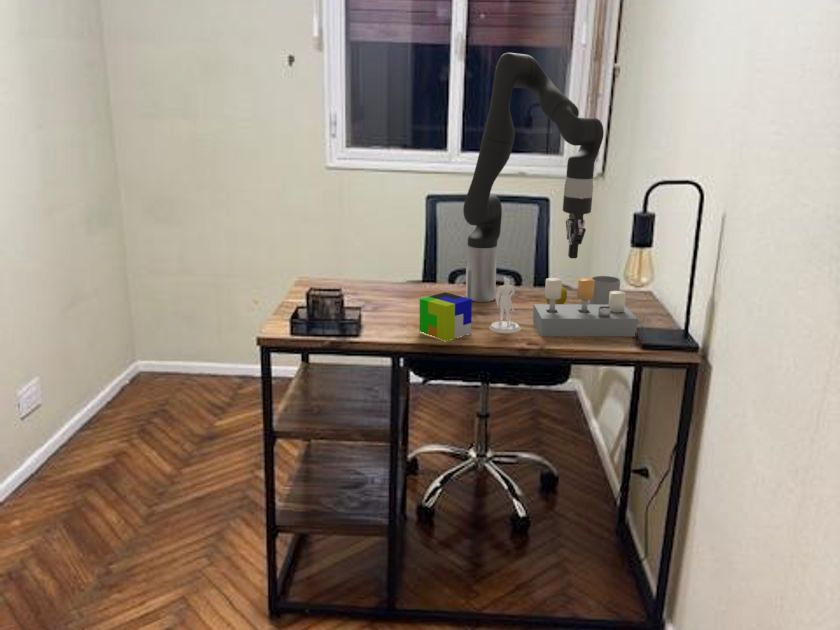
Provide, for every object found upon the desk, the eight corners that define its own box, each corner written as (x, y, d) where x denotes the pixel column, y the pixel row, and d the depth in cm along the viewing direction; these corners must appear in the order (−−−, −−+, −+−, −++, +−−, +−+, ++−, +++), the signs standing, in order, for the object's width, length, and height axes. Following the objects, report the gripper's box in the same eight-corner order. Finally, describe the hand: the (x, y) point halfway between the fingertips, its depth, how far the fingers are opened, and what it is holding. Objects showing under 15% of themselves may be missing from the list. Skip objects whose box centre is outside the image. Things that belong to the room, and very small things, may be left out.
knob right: (609, 326, 210) (611, 294, 208) (605, 321, 214) (607, 290, 212) (625, 326, 210) (627, 295, 208) (620, 321, 214) (623, 290, 212)
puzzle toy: (471, 334, 207) (471, 299, 204) (445, 342, 200) (446, 306, 198) (444, 326, 214) (445, 292, 211) (419, 333, 207) (419, 298, 204)
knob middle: (577, 313, 209) (580, 281, 206) (574, 309, 213) (576, 277, 211) (593, 313, 209) (596, 281, 206) (590, 309, 213) (592, 278, 211)
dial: (599, 317, 205) (600, 308, 205) (596, 314, 208) (597, 305, 208) (611, 317, 205) (612, 308, 205) (608, 314, 208) (609, 305, 208)
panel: (540, 336, 206) (541, 318, 204) (532, 320, 219) (533, 304, 218) (635, 336, 206) (637, 318, 205) (622, 321, 219) (623, 304, 218)
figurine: (488, 332, 209) (490, 279, 204) (489, 322, 217) (491, 272, 213) (520, 334, 207) (523, 281, 203) (520, 324, 216) (523, 273, 211)
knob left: (545, 313, 209) (547, 281, 206) (542, 309, 213) (544, 277, 210) (561, 313, 209) (563, 281, 206) (558, 309, 213) (560, 277, 210)
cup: (620, 315, 225) (623, 282, 222) (592, 315, 225) (595, 282, 222) (613, 307, 233) (616, 275, 230) (586, 307, 233) (589, 275, 230)
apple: (546, 311, 229) (548, 285, 226) (543, 305, 235) (544, 280, 232) (568, 311, 229) (569, 285, 226) (563, 305, 235) (565, 280, 232)
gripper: (559, 190, 208) (554, 252, 213) (569, 198, 195) (564, 263, 201) (585, 191, 208) (580, 252, 214) (598, 198, 196) (592, 263, 201)
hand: (572, 257), depth 207 cm, fingers closed
